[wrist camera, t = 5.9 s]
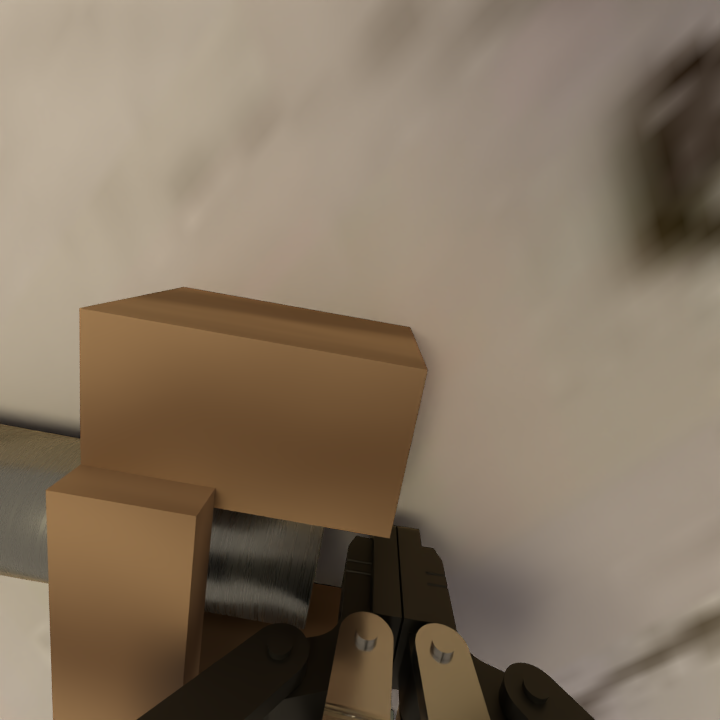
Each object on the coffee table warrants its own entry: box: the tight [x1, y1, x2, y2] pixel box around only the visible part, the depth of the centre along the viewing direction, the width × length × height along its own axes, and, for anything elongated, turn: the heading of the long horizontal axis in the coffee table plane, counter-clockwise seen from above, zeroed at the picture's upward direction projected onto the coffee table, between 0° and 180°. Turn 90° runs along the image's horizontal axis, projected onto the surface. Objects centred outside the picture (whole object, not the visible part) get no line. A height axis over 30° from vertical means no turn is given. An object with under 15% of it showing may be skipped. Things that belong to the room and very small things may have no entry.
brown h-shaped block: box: [46, 287, 428, 720], centre depth 12 cm, size 14×7×6 cm, turn 170°
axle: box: [0, 424, 324, 629], centre depth 13 cm, size 14×4×4 cm, turn 80°
